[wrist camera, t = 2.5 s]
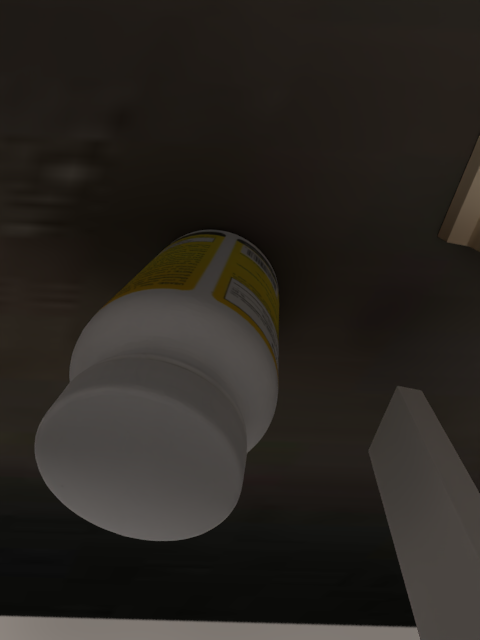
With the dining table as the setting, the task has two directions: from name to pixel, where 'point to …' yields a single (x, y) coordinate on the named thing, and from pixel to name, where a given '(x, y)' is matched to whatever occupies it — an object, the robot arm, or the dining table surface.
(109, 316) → the pill bottle
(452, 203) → the holder
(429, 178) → the dining table surface
